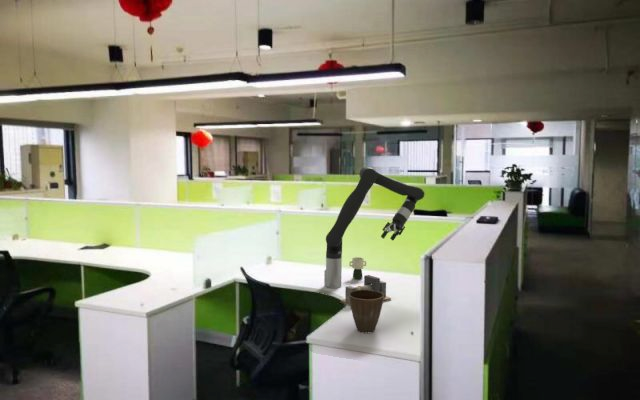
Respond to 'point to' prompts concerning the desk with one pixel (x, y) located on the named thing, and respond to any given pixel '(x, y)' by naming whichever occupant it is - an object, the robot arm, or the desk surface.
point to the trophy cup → (357, 267)
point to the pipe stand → (366, 287)
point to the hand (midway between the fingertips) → (386, 238)
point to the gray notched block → (372, 282)
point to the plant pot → (366, 309)
